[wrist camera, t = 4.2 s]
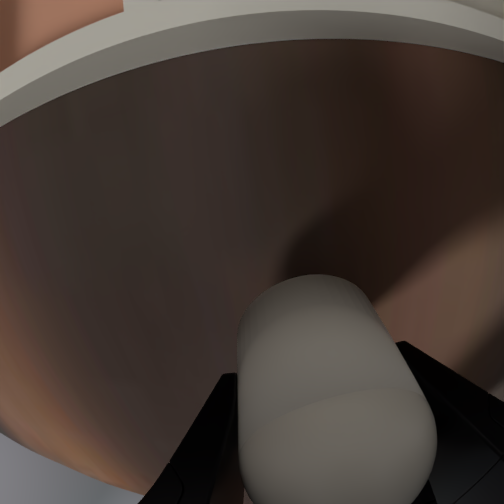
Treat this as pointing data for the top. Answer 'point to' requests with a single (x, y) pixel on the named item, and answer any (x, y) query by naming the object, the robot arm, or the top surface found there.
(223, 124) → the top surface
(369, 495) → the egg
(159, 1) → the white compartment tray
